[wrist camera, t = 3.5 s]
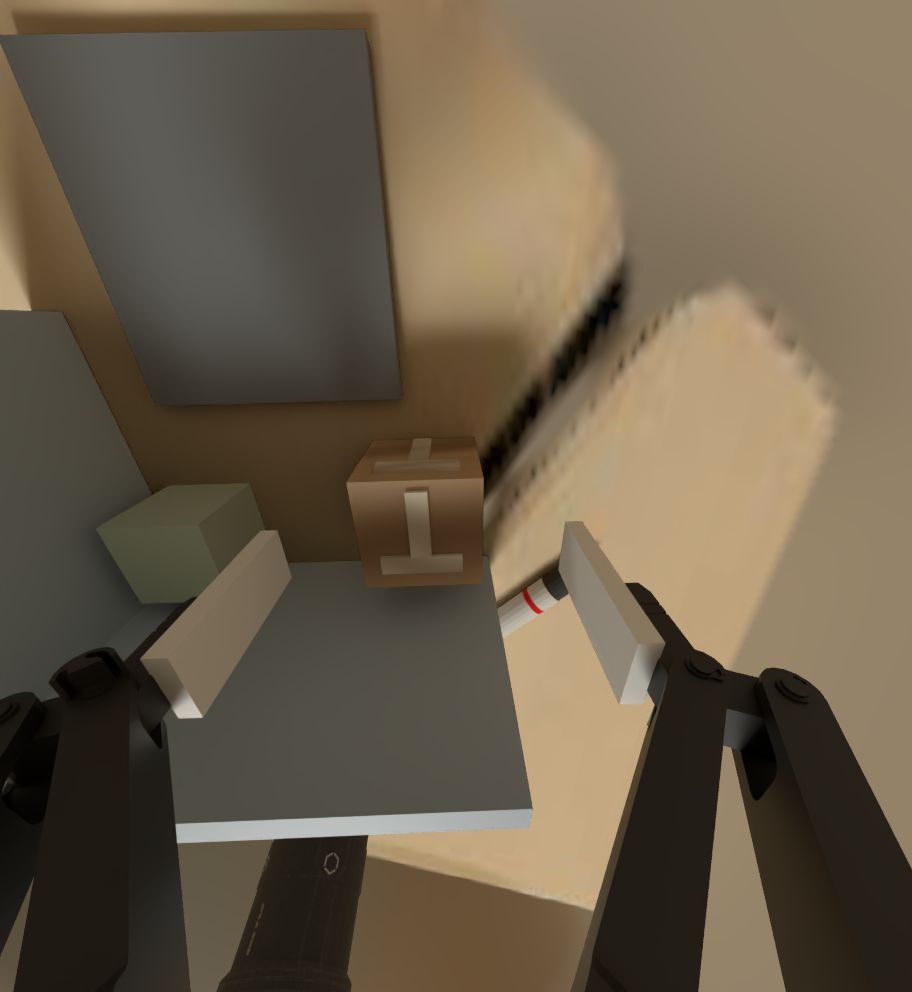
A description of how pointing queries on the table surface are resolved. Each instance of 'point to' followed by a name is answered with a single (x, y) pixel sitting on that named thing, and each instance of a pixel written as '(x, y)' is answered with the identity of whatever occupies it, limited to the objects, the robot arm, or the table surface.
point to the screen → (252, 644)
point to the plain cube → (181, 538)
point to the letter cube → (419, 512)
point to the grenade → (301, 918)
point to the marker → (531, 602)
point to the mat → (227, 205)
